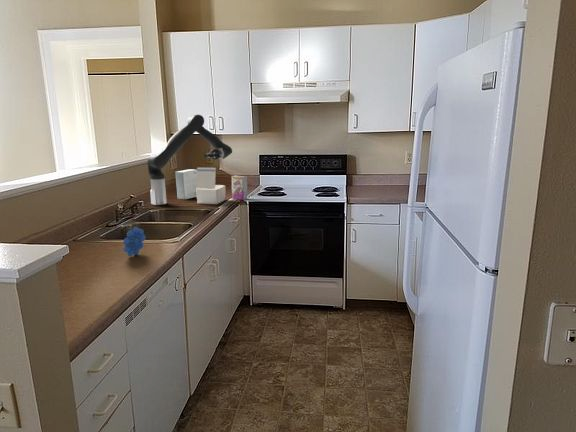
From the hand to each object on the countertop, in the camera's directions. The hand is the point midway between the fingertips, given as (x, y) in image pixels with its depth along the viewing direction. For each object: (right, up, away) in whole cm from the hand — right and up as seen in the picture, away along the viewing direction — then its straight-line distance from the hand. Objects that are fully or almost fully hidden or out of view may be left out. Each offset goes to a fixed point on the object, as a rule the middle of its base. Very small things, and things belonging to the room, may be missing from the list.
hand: (207, 156), depth 282 cm
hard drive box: (-19, -27, +26) cm, 42 cm away
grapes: (-12, -57, -104) cm, 119 cm away
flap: (-1, -22, -1) cm, 22 cm away
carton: (+1, -31, +10) cm, 32 cm away
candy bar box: (+19, -28, +20) cm, 40 cm away
